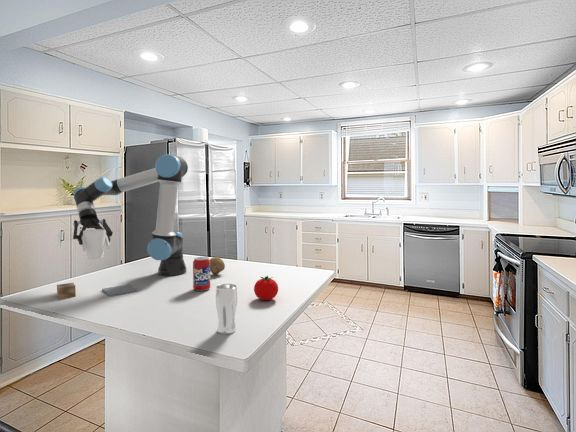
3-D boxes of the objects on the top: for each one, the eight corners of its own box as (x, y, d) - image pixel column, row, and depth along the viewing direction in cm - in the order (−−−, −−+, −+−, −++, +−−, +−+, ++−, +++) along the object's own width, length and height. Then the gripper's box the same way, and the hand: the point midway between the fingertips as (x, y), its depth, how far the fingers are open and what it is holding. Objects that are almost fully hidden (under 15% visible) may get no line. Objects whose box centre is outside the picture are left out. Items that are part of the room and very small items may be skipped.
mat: (129, 285, 162) (129, 283, 162) (138, 291, 154) (138, 289, 154) (102, 290, 154) (102, 288, 154) (110, 296, 145) (110, 294, 145)
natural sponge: (223, 272, 190) (223, 255, 190) (225, 276, 182) (225, 258, 181) (207, 273, 187) (207, 255, 187) (208, 277, 179) (208, 259, 178)
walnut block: (73, 293, 150) (73, 282, 149) (75, 296, 145) (75, 285, 145) (57, 296, 146) (56, 284, 145) (59, 299, 141) (58, 288, 141)
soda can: (204, 286, 162) (204, 255, 161) (213, 289, 157) (213, 258, 156) (190, 289, 157) (189, 257, 156) (198, 293, 151) (198, 260, 150)
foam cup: (96, 259, 155) (95, 232, 154) (79, 258, 157) (78, 231, 156) (111, 255, 164) (110, 229, 163) (94, 255, 166) (93, 229, 165)
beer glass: (226, 324, 116) (226, 282, 115) (241, 329, 112) (241, 285, 111) (211, 331, 110) (211, 287, 109) (226, 336, 106) (226, 290, 105)
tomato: (269, 305, 136) (269, 281, 135) (248, 300, 142) (248, 277, 141) (282, 298, 145) (283, 275, 144) (263, 294, 151) (263, 272, 150)
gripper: (109, 216, 178) (120, 250, 167) (60, 218, 162) (68, 255, 152) (112, 207, 173) (123, 241, 163) (62, 208, 158) (70, 245, 148)
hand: (97, 248), depth 158 cm, fingers closed on foam cup, 9 cm apart
